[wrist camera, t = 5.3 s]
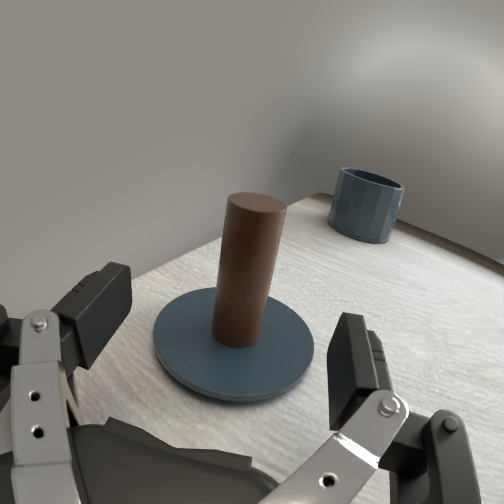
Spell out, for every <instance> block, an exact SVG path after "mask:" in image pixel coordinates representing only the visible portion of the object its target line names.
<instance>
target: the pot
mask: <svg viewBox="0 0 504 504" xmlns="http://www.w3.org/2000/svg"><path fill="white" fill-rule="evenodd" d="M404 191H405V187H404V186H403V185H401V184H400V183H398V182H396V181H394V180H391V179H389V178H387V177H384V176H381V175H378V174H375V173H372V172H368V171H364V170H360V169H356V168H349V167H341V168H340V172H339V176H338V181H337V185H336V189H335V193H334V197H333V201H332V205H331V209H330V213H329V217H328V223H329V225H330V226H331V227H332V228H334V229H335V230H336V231H338V232H340V233H342V234H344V235H346V236H348V237H351V238H354V239H357V240H360V241H364V242H369V243H385V242H387V241H388V240H389V238H390V236H391V233H392V230H393V227H394V224H395V221H396V217H397V214H398V211H399V208H400V204H401V201H402V198H403V194H404Z"/></svg>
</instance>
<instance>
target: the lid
mask: <svg viewBox="0 0 504 504" xmlns="http://www.w3.org/2000/svg"><path fill="white" fill-rule="evenodd" d="M286 209H287V207H286V205H285V204H284V203H283V202H282V201H280V200H278V199H276V198H273V197H270V196H267V195H263V194H257V193H245V192H243V193H234V194H231V195H230V196H229V197H228V199H227V207H226V215H225V221H224V230H223V237H222V245H221V253H220V261H219V269H218V278H217V286H216V287H213V288H205V289H199V290H195V291H191V292H188V293H186V294H183V295H181V296H179V297H177V298H175V299H174V300H172V301H171V302H170V303H168V304H167V305H166V306H165V307H164V308H163V309H162V311H161V312H160V314H159V315H158V317H157V319H156V322H155V325H154V331H153V336H154V346H155V350H156V353H157V355H158V358H159V360H160V361H161V363H162V364H163V366H164V367H165V369H166V370H167V371H168V372H169V373H170V374H171V375H172V376H173V377H174V378H175V379H177V380H178V381H179V382H180V383H182V384H184V385H185V386H187V387H188V388H190V389H192V390H194V391H196V392H198V393H200V394H203V395H206V396H209V397H212V398H216V399H221V400H226V401H236V402H248V401H258V400H264V399H268V398H271V397H275V396H277V395H280V394H282V393H284V392H286V391H288V390H289V389H291V388H293V387H294V386H295V385H296V384H298V383H299V382H300V381H301V380H302V378H303V377H304V376H305V375H306V373H307V371H308V370H309V368H310V365H311V363H312V360H313V357H314V341H313V337H312V334H311V332H310V330H309V328H308V326H307V325H306V323H305V322H304V321H303V320H302V318H301V317H300V316H299V315H298V314H297V313H296V312H294V311H293V310H292V309H291V308H289V307H288V306H286V305H285V304H283V303H281V302H280V301H278V300H276V299H274V298H271V297H269V296H268V294H269V289H270V285H271V280H272V275H273V271H274V266H275V262H276V257H277V252H278V248H279V243H280V238H281V233H282V229H283V224H284V219H285V214H286Z"/></svg>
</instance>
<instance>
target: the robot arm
mask: <svg viewBox="0 0 504 504" xmlns="http://www.w3.org/2000/svg"><path fill="white" fill-rule="evenodd" d="M131 306H132V288H131V271H130V267H129V266H127V265H123V264H119V263H115V262H109V263H108V264H107V265H106V266H105V267H104V268H103V269H102V270H101V271H100V272H99V271H96V272H93V273H91V274H89V275H87V276H85V277H84V278H83V279H82V280H81V281H80V282H79V283H78V285H76V286H75V287H74V288H73V289H72V291H70V292H69V293H67V294H66V295H65V296H64V297H63V298H62V299H61V300H60V301H59V302H58V303H57V304H56V305H55V306H54V307H53V308H52V309H51V310H50V311H49V310H37V311H34V312H32V313H30V314H28V315H27V316H26V317H25V318H24V320H23V319H15V318H8V316H7V312H6V309H5V308H4V306H2V305H0V412H1V410H2V409H3V407H4V406H5V404H6V403H7V401H8V400H9V398H10V397H11V428H12V443H13V451H10V452H7V453H4V454H1V455H0V504H349V503H350V502H351V501H352V500H353V498H354V497H355V496H356V495H357V494H358V492H359V491H360V490H361V489H362V487H363V486H364V485H365V483H366V482H367V481H368V479H369V478H370V477H371V476H372V474H373V473H374V471H375V470H376V469H377V467H378V468H381V469H384V470H388V471H389V477H390V504H481V498H480V491H479V486H478V480H477V475H476V470H475V465H474V461H473V456H472V452H471V448H470V443H469V439H468V435H467V432H466V428H465V425H464V422H463V421H462V419H461V418H460V417H459V416H458V415H457V414H455V413H454V412H452V411H449V410H439V411H437V412H435V413H434V415H433V416H432V417H431V418H428V417H425V416H422V415H419V414H416V413H413V412H411V411H409V410H408V406H407V403H406V402H405V400H404V399H403V398H402V397H401V396H400V395H398V394H397V393H395V392H394V391H393V387H392V382H391V378H390V374H389V370H388V366H387V362H386V358H385V354H384V353H383V352H384V351H383V347H382V343H381V340H380V339H379V338H378V336H377V335H376V334H375V333H374V331H370V330H367V329H366V325H365V321H364V317H363V316H362V315H357V314H351V313H345V312H343V313H342V314H341V316H340V318H339V321H338V324H337V326H336V329H335V331H334V334H333V336H332V339H331V341H330V344H329V347H328V351H327V375H328V396H329V427H330V430H332V431H338V432H337V433H334V434H333V435H332V436H331V437H330V438H329V439H328V440H327V441H326V442H325V443H324V444H323V445H322V446H321V447H320V448H319V449H318V450H317V451H316V452H315V453H314V454H313V455H312V456H311V457H310V458H309V459H308V460H307V461H306V462H305V463H304V464H303V465H301V466H300V467H299V468H298V469H297V470H296V471H295V472H294V473H293V474H292V475H291V476H289V477H288V478H287V479H286V480H285V481H284V482H283V483H282V484H279V483H278V482H277V481H275V480H274V479H273V478H272V477H270V476H269V475H267V474H266V473H264V472H262V471H260V470H259V469H256V468H254V467H252V466H251V462H252V457H249V456H244V455H239V454H233V453H229V452H224V451H219V450H212V449H185V448H175V447H172V446H170V445H168V444H167V443H165V442H163V441H161V440H160V439H158V438H156V437H155V436H153V435H151V434H150V433H148V432H146V431H145V430H143V429H141V428H138V427H136V426H133V425H130V424H127V423H125V422H122V421H119V420H117V419H114V418H112V417H109V418H108V420H107V422H106V424H105V425H99V424H88V425H85V423H84V420H83V416H82V412H81V407H80V401H79V396H78V390H77V384H76V377H75V373H74V370H75V369H76V367H77V366H79V367H82V368H84V369H87V370H89V369H90V367H91V366H92V364H93V363H94V361H95V360H96V359H97V357H98V356H99V354H100V353H101V351H102V350H103V349H104V347H105V346H106V344H107V343H108V342H109V340H110V339H111V337H112V336H113V335H114V333H115V332H116V330H117V329H118V328H119V326H120V325H121V324H122V322H123V321H124V319H125V318H126V317H127V315H128V314H129V312H130V309H131Z"/></svg>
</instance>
